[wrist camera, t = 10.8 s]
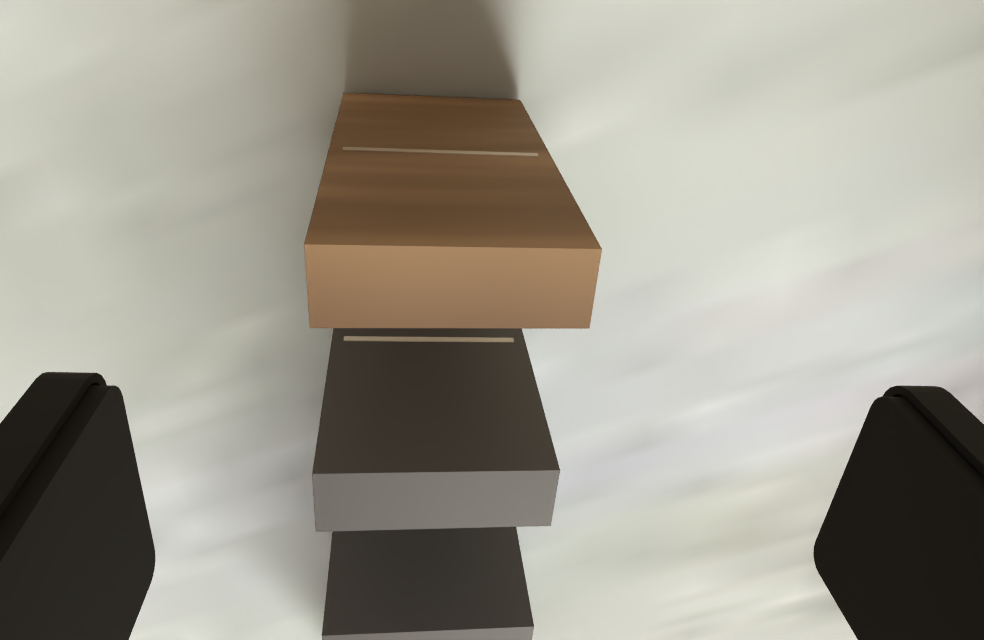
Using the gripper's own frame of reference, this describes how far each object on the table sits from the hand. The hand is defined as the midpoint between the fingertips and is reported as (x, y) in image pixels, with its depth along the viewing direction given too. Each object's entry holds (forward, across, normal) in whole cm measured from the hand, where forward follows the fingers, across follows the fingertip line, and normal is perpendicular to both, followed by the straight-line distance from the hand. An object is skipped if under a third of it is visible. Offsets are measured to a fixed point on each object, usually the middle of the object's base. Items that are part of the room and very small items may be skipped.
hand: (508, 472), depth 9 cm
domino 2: (+14, +1, +4) cm, 15 cm away
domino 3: (+14, +1, +9) cm, 17 cm away
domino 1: (+14, +1, -1) cm, 14 cm away
